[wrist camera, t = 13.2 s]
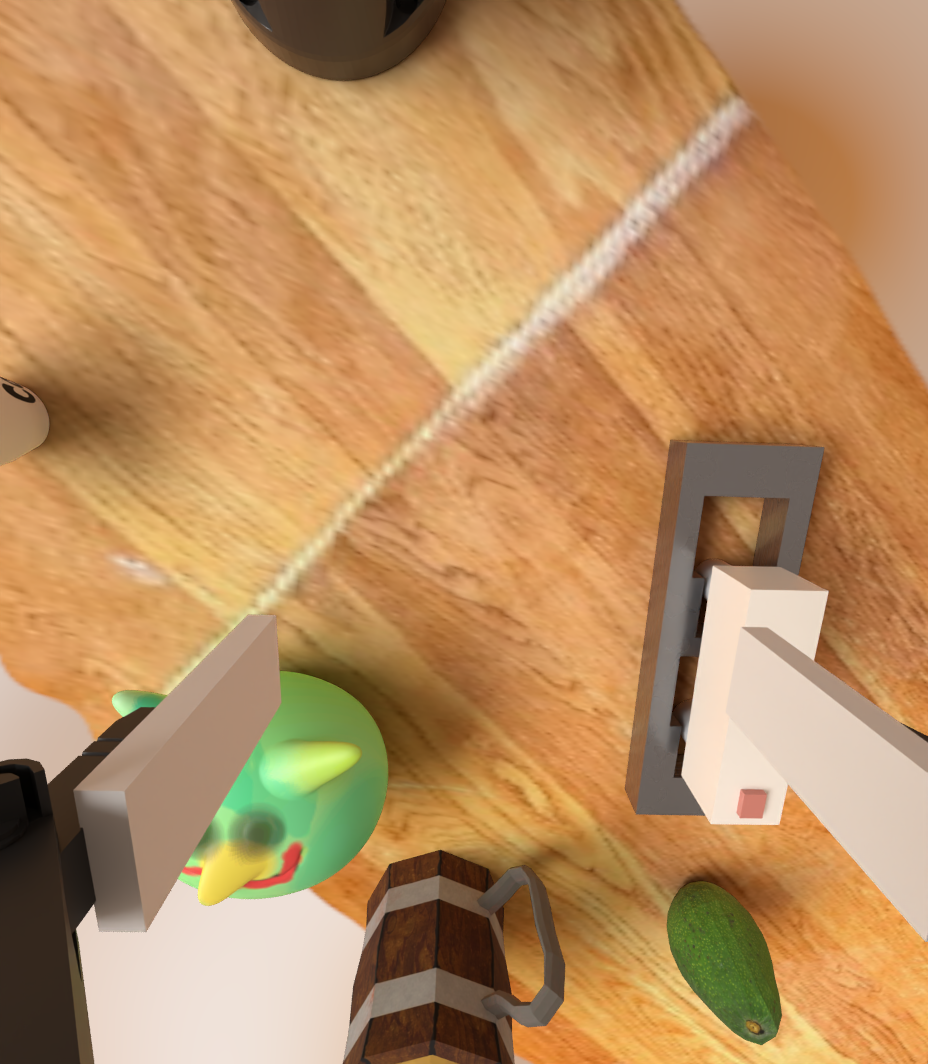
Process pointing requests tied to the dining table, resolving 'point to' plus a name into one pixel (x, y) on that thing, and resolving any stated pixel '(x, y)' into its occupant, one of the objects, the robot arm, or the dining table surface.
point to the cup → (20, 421)
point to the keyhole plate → (678, 588)
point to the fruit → (725, 960)
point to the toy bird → (291, 796)
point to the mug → (445, 966)
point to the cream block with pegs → (710, 734)
